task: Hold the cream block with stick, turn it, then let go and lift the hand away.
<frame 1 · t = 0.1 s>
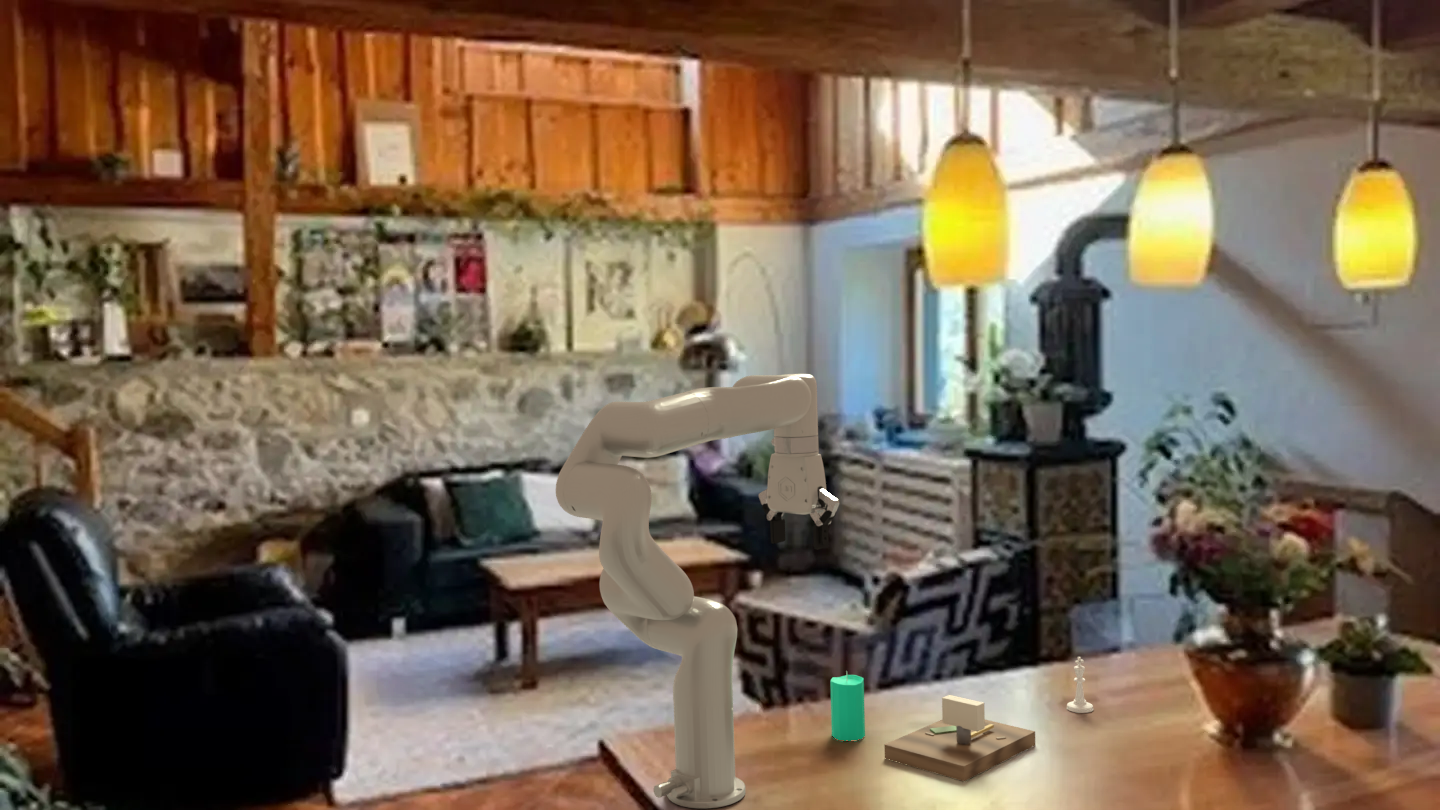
hand: (799, 545, 209), 37 cm above the table, tool pointing down, fingers open, 9 cm apart
candle: (848, 737, 220), on the table
cream block with stick: (975, 715, 210), point 6 cm above the table, hinge at 0.0°
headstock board: (960, 752, 210), on the table
chess piece: (1079, 709, 231), on the table
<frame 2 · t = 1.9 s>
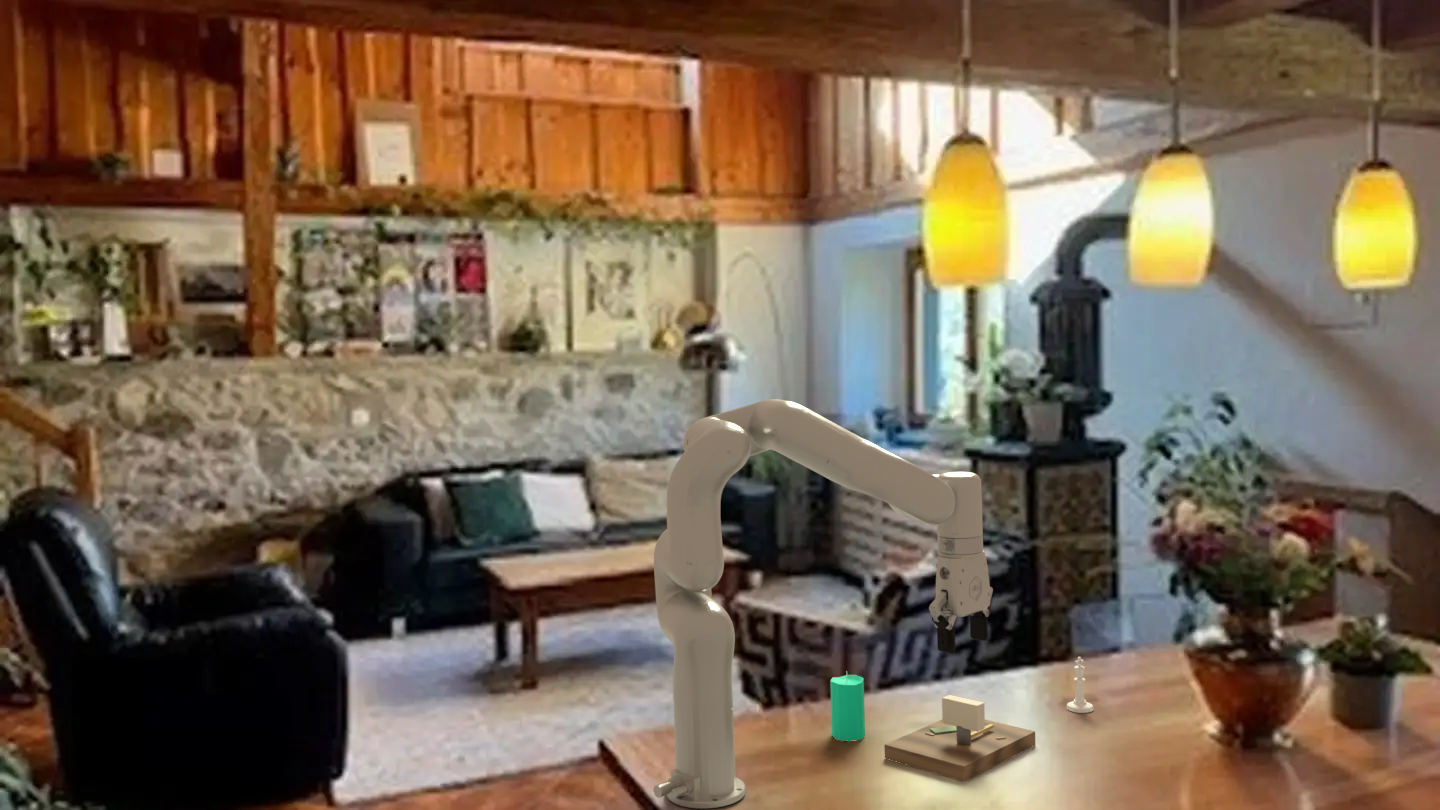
hand: (963, 645, 206), 19 cm above the table, tool pointing down, fingers open, 9 cm apart
nothing on the table moved.
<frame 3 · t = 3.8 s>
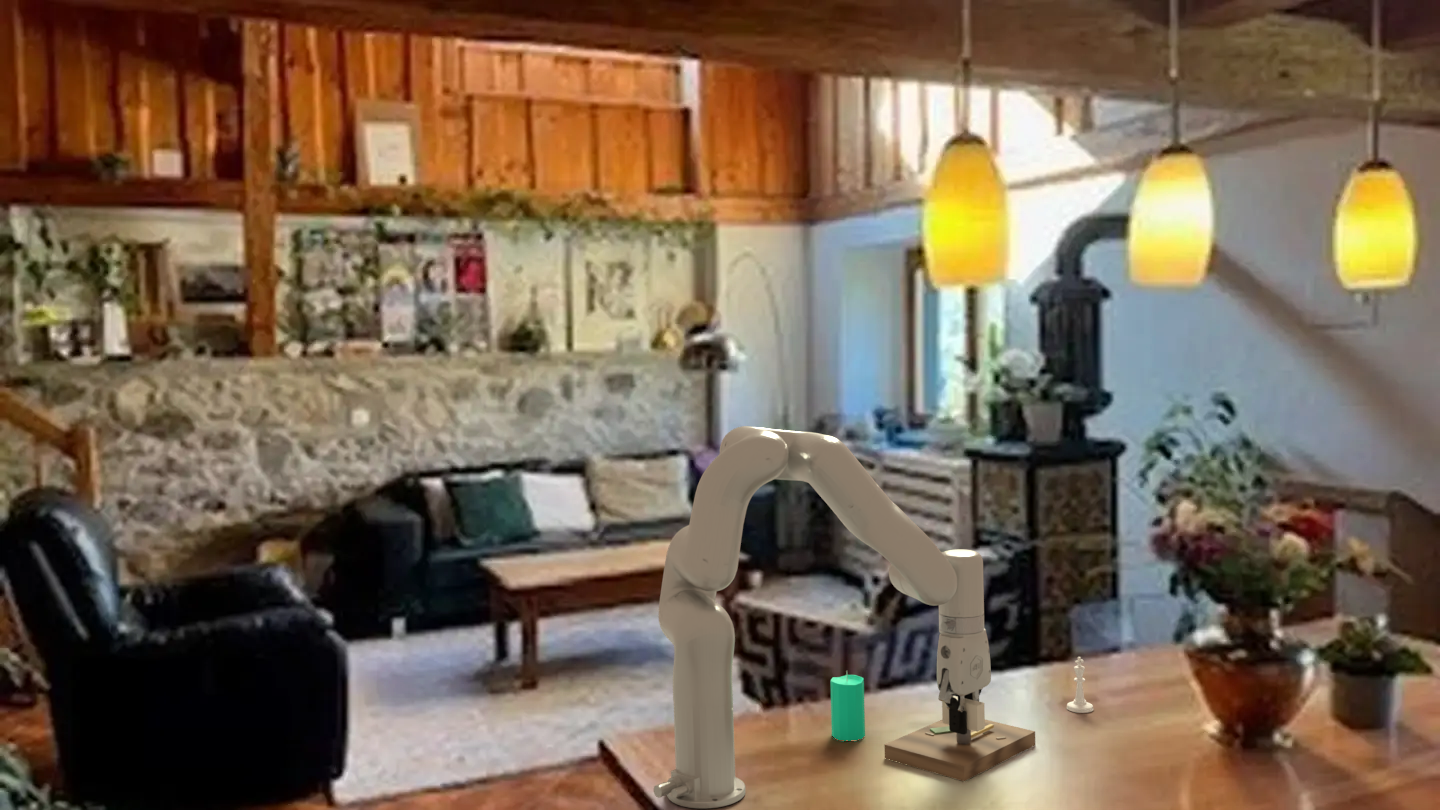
hand: (963, 729, 207), 5 cm above the table, tool pointing down, fingers closed on cream block with stick, 2 cm apart
cream block with stick: (975, 715, 210), point 6 cm above the table, hinge at 0.0°, touching gripper
everything else where it was.
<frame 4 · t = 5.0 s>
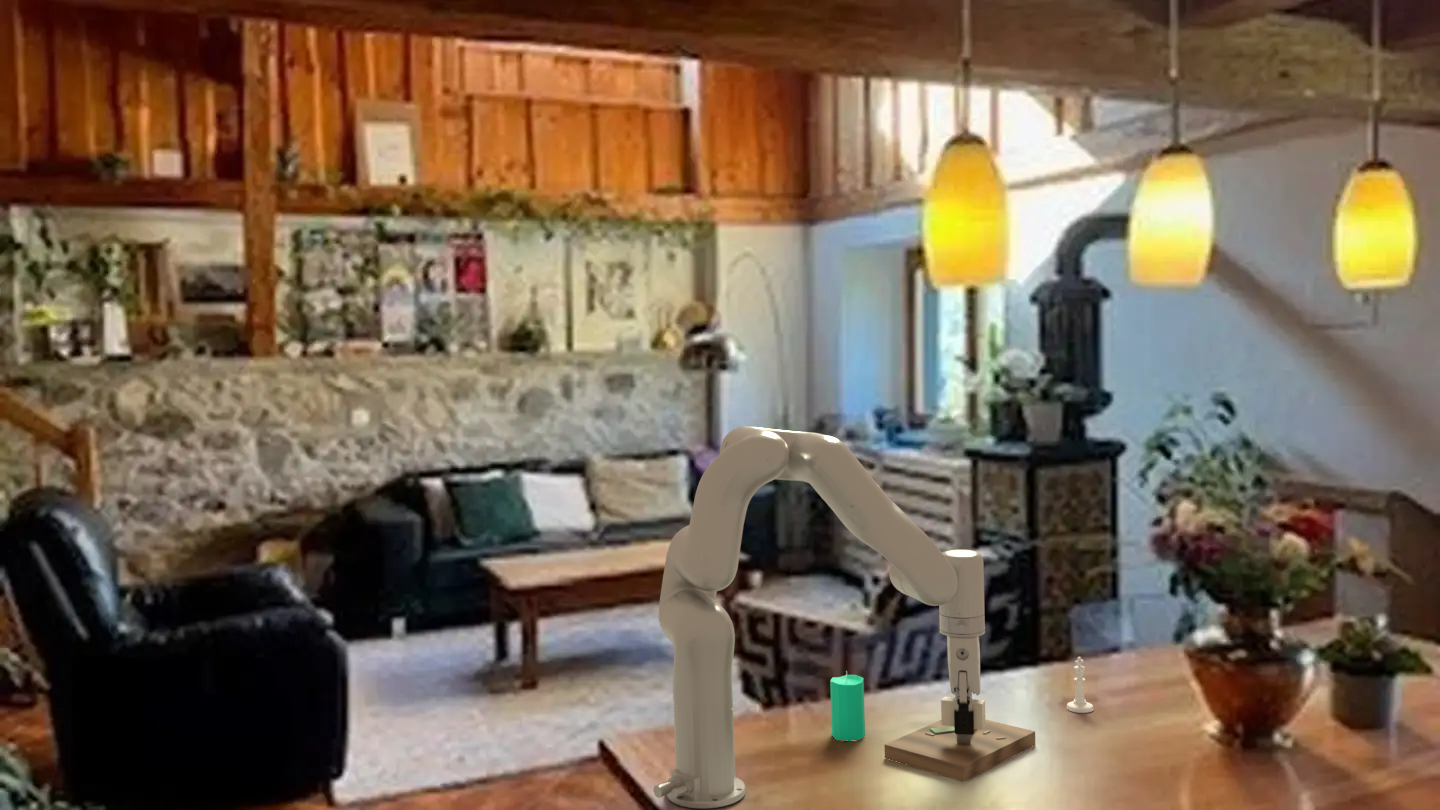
hand: (964, 729, 207), 5 cm above the table, tool pointing down, fingers closed on cream block with stick, 3 cm apart
cream block with stick: (968, 714, 210), point 6 cm above the table, hinge at 19.9°, touching gripper
everything else where it was.
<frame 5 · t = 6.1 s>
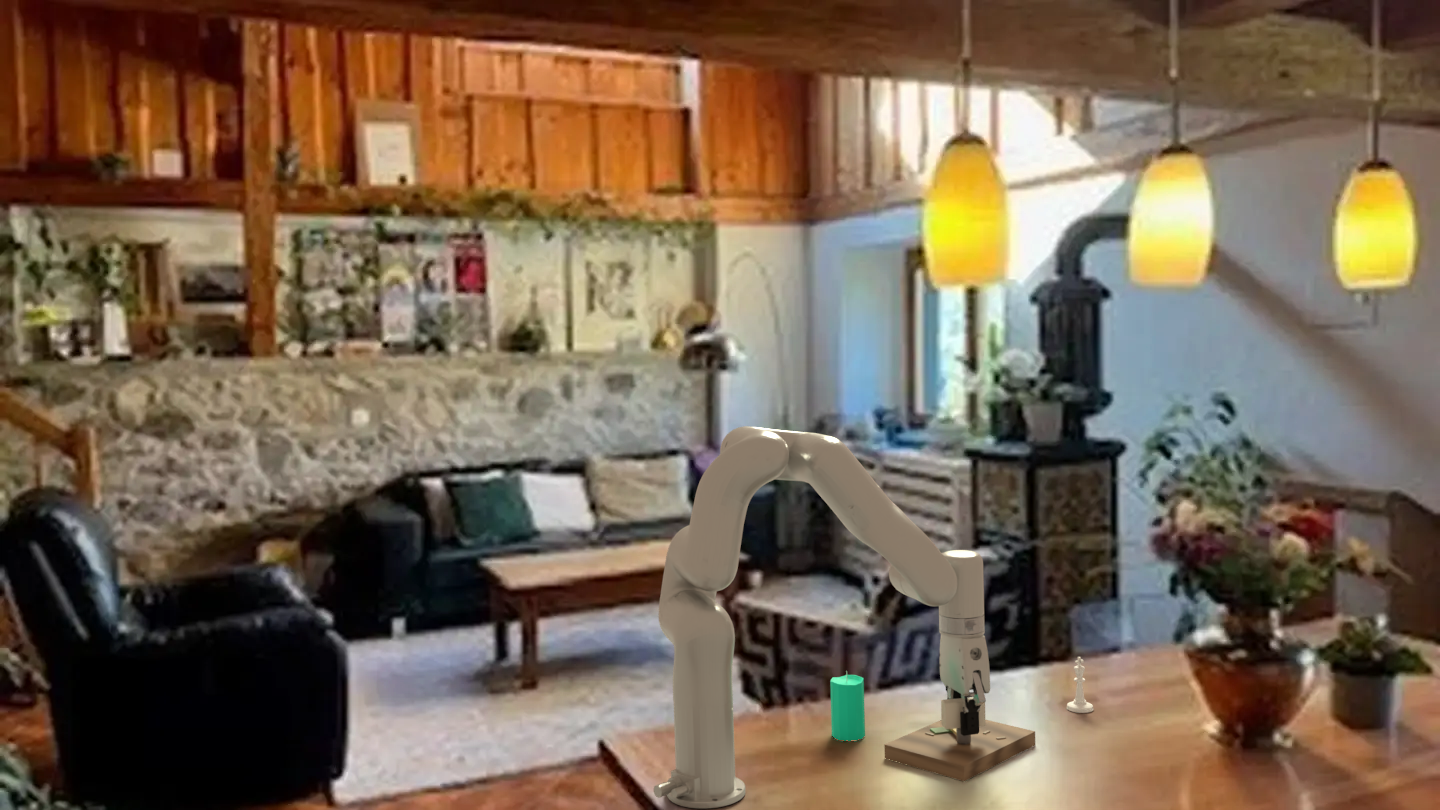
hand: (964, 729, 207), 5 cm above the table, tool pointing down, fingers open, 3 cm apart
cream block with stick: (955, 714, 211), point 6 cm above the table, hinge at 53.8°
everything else where it was.
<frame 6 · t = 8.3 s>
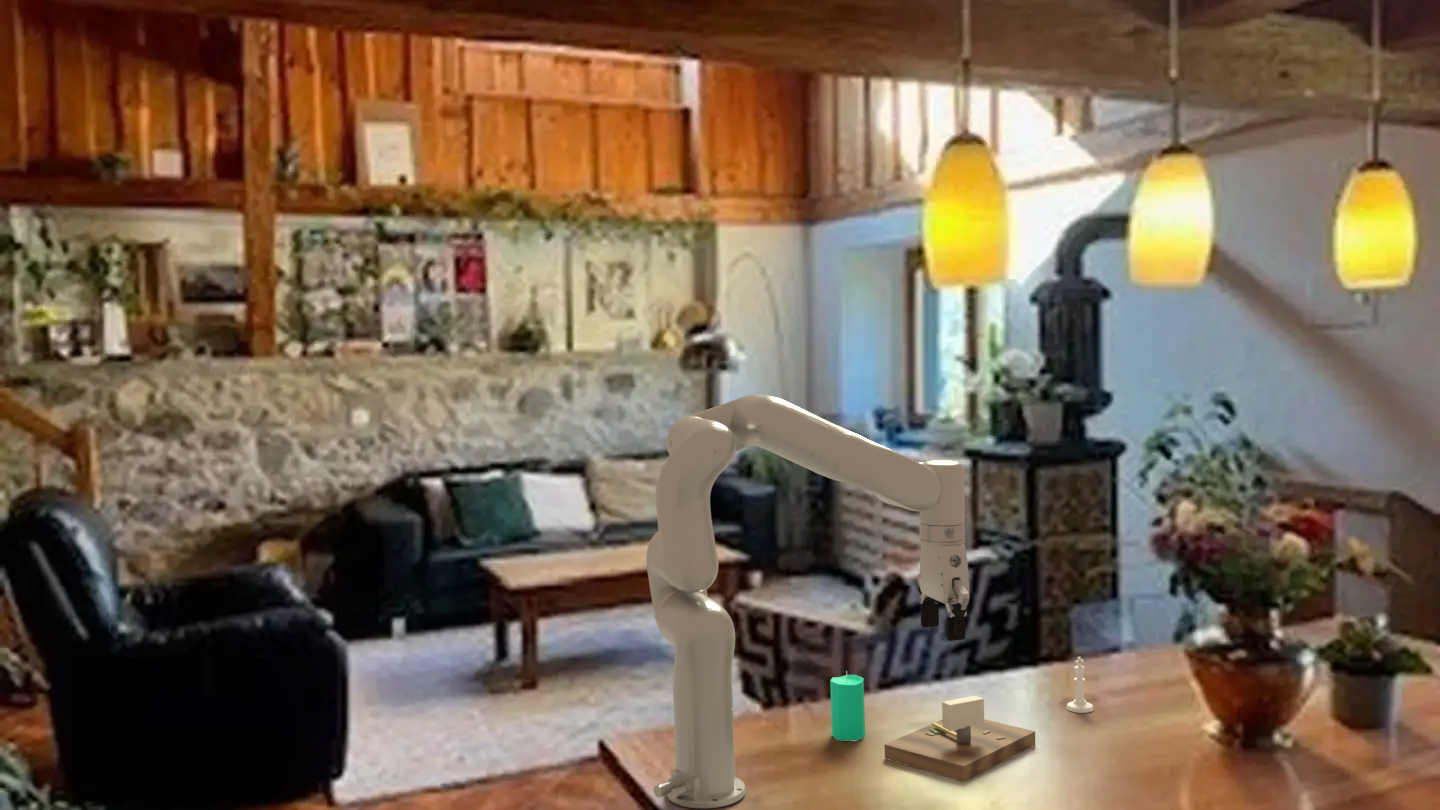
hand: (942, 633, 207), 21 cm above the table, tool pointing down, fingers open, 9 cm apart
cream block with stick: (950, 714, 210), point 6 cm above the table, hinge at 69.7°
everything else where it was.
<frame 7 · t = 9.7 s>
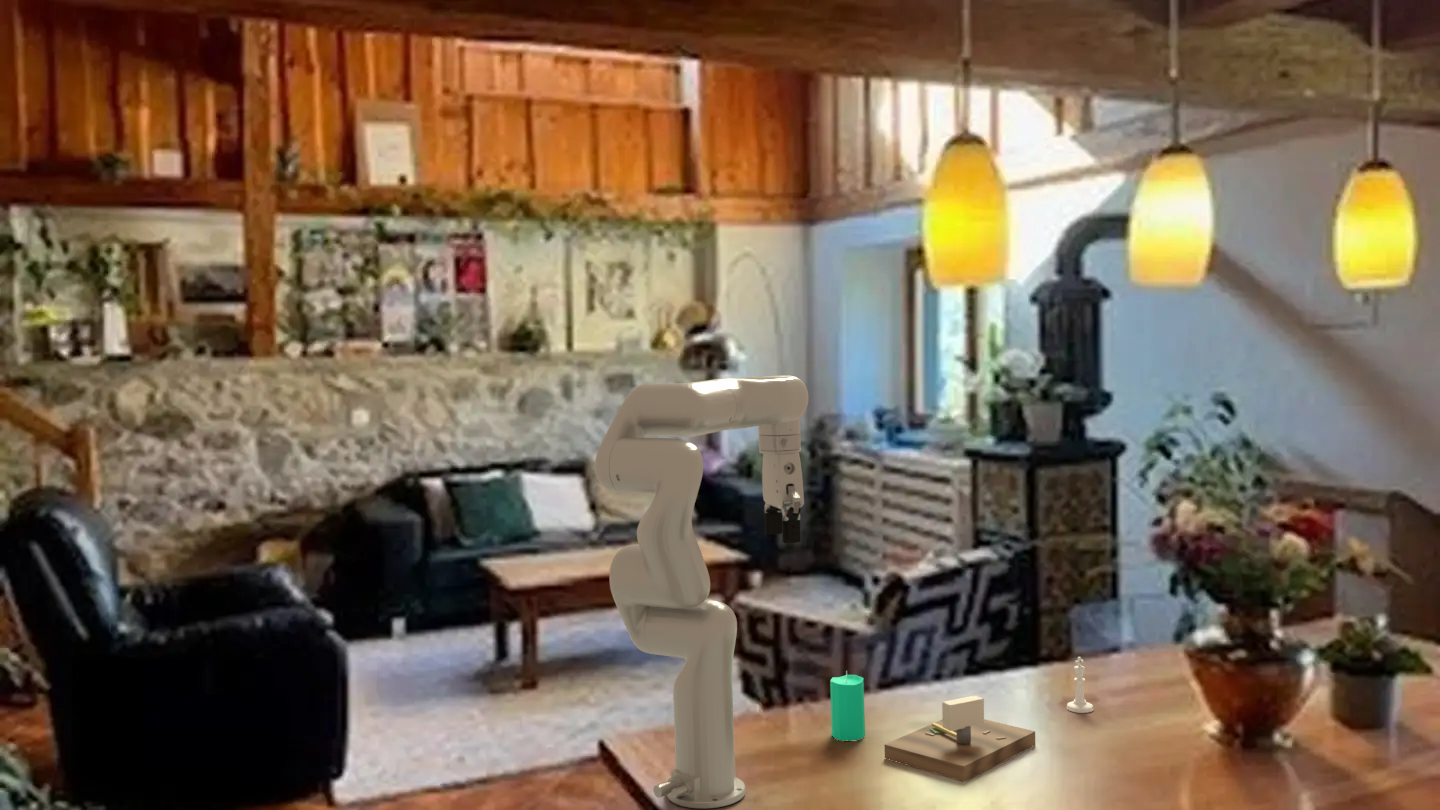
hand: (782, 538, 220), 36 cm above the table, tool pointing down, fingers open, 9 cm apart
cream block with stick: (949, 714, 210), point 6 cm above the table, hinge at 70.6°
everything else where it was.
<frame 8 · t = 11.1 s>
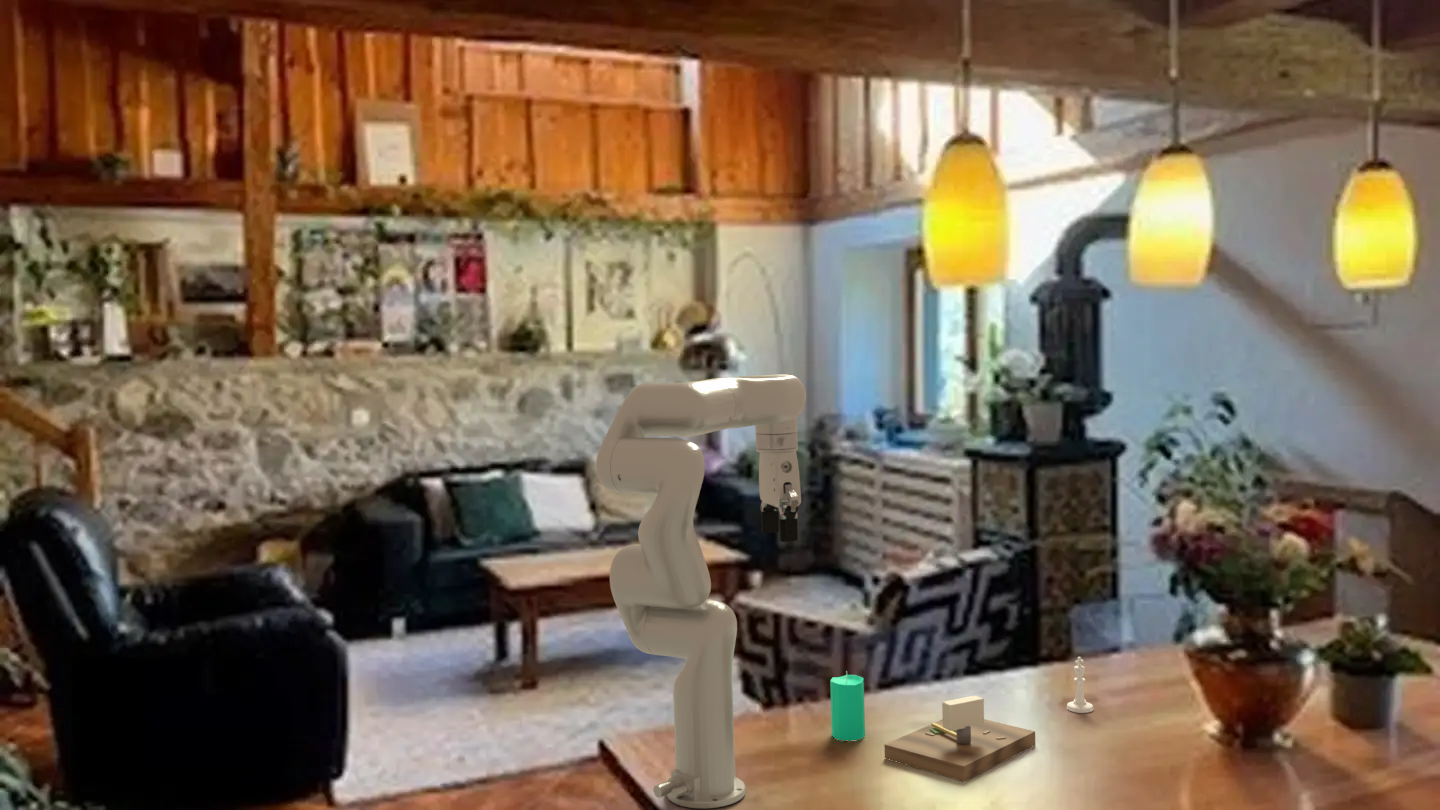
hand: (779, 536, 221), 36 cm above the table, tool pointing down, fingers open, 9 cm apart
nothing on the table moved.
at the end: cream block with stick at +71° (first picture: +0°); the gripper is holding nothing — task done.
